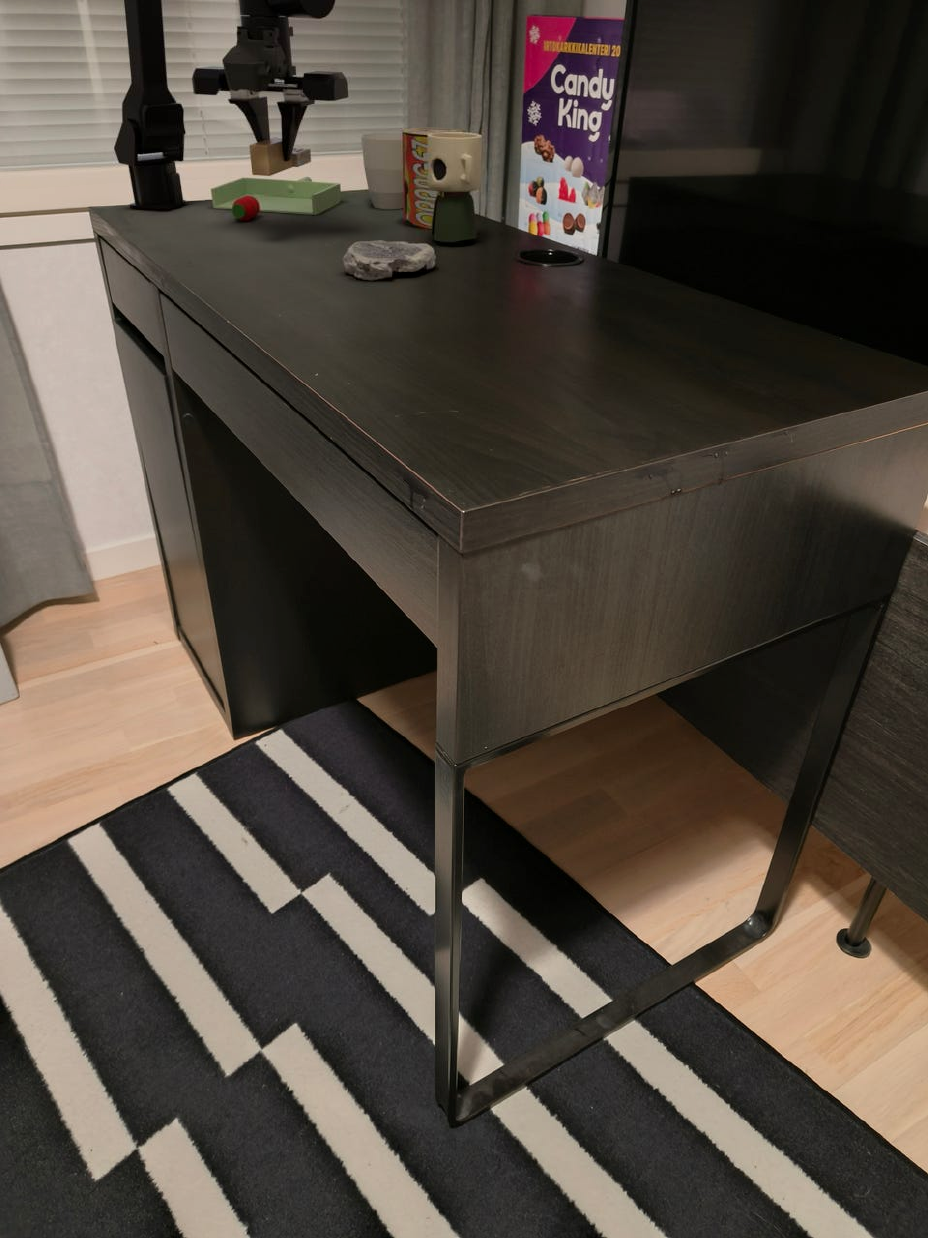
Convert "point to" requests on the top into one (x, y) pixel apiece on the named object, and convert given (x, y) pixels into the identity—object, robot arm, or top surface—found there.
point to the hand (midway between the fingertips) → (277, 160)
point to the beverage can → (418, 177)
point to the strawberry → (245, 208)
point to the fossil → (386, 258)
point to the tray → (279, 195)
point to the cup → (384, 168)
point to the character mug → (454, 183)
